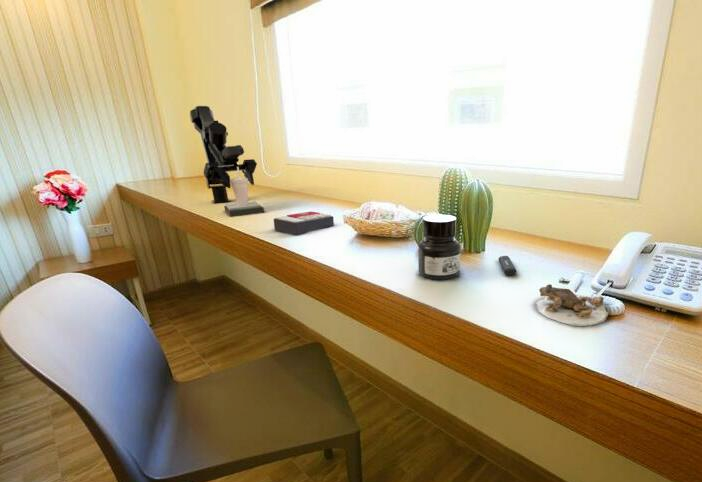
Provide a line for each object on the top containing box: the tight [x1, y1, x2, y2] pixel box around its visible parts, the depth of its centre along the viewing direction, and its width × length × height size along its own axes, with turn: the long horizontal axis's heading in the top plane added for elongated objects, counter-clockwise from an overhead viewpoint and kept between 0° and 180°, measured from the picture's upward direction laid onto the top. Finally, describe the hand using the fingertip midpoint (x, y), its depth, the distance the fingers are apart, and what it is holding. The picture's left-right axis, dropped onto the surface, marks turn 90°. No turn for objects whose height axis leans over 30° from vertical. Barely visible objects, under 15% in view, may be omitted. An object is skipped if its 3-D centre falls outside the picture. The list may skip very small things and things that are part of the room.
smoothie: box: [230, 167, 249, 206], centre depth 146 cm, size 6×6×14 cm
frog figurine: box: [535, 284, 609, 327], centre depth 66 cm, size 12×12×4 cm
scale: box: [223, 200, 265, 217], centre depth 149 cm, size 12×12×3 cm
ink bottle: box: [417, 214, 462, 281], centre depth 82 cm, size 10×9×12 cm
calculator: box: [273, 211, 335, 236], centre depth 123 cm, size 11×4×15 cm
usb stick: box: [498, 255, 517, 276], centre depth 86 cm, size 10×3×2 cm, turn 177°
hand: (241, 185), depth 145 cm, fingers open, 9 cm apart
